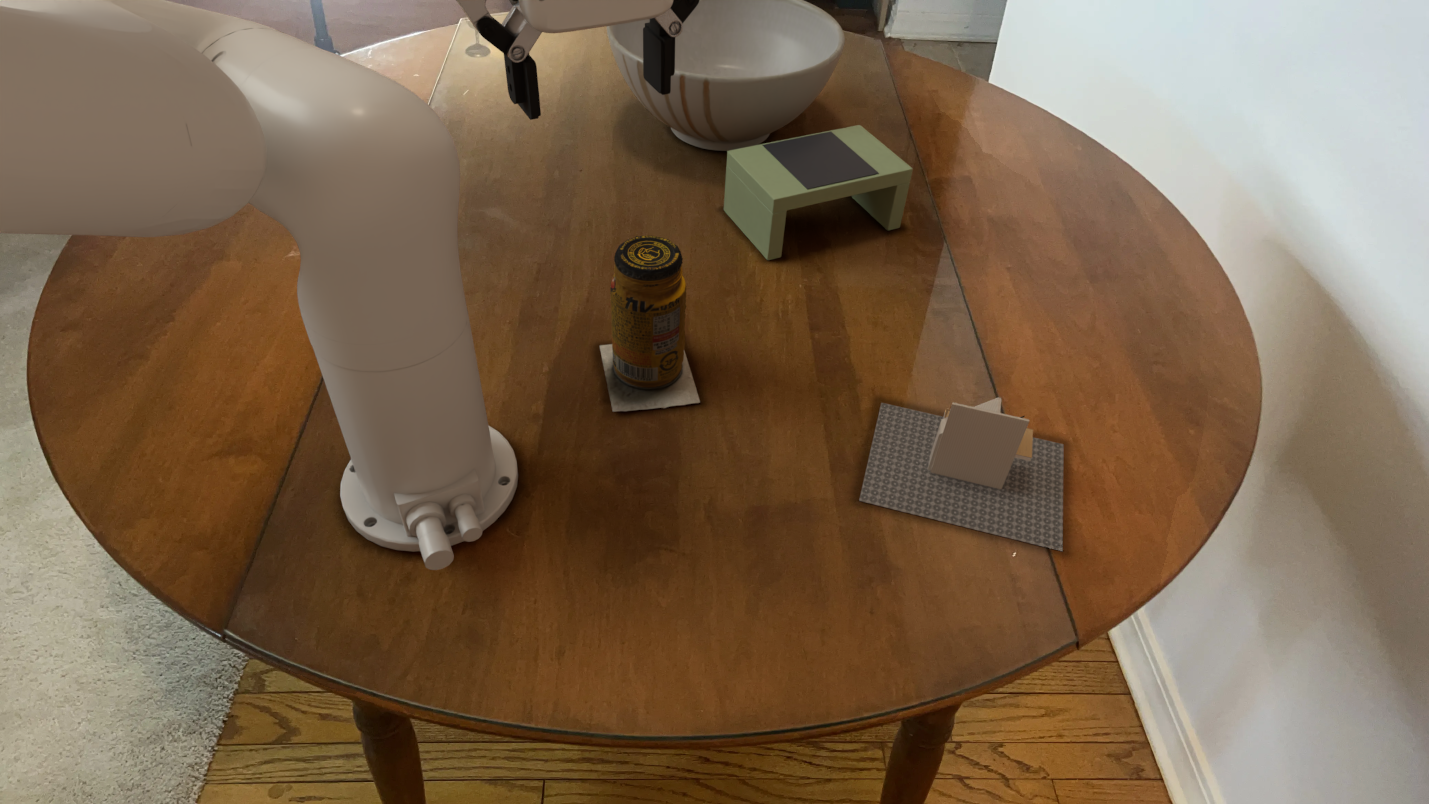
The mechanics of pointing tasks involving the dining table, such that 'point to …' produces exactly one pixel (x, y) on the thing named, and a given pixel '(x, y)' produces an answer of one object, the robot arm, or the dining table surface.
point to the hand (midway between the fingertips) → (594, 98)
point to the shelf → (812, 181)
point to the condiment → (648, 328)
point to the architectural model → (968, 471)
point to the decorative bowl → (736, 69)
